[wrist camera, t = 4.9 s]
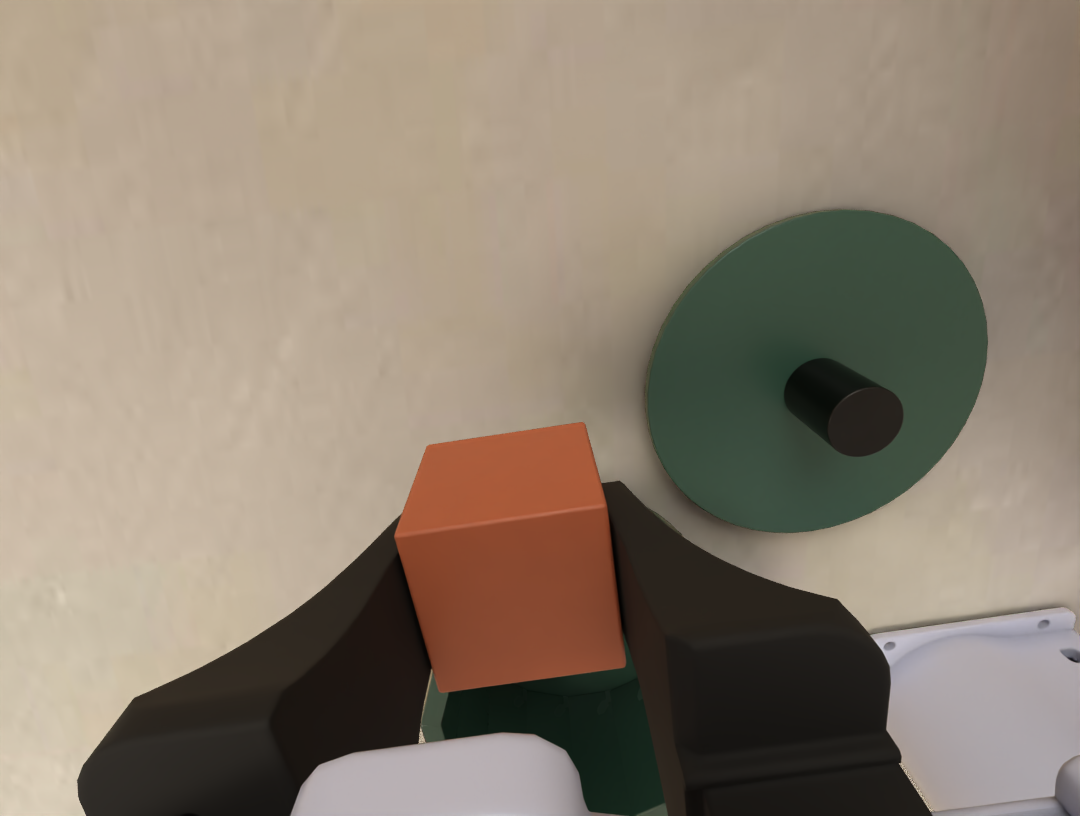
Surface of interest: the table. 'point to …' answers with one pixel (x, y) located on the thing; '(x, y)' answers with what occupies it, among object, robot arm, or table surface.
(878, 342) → the lid
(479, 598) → the block
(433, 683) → the pot
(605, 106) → the table surface
